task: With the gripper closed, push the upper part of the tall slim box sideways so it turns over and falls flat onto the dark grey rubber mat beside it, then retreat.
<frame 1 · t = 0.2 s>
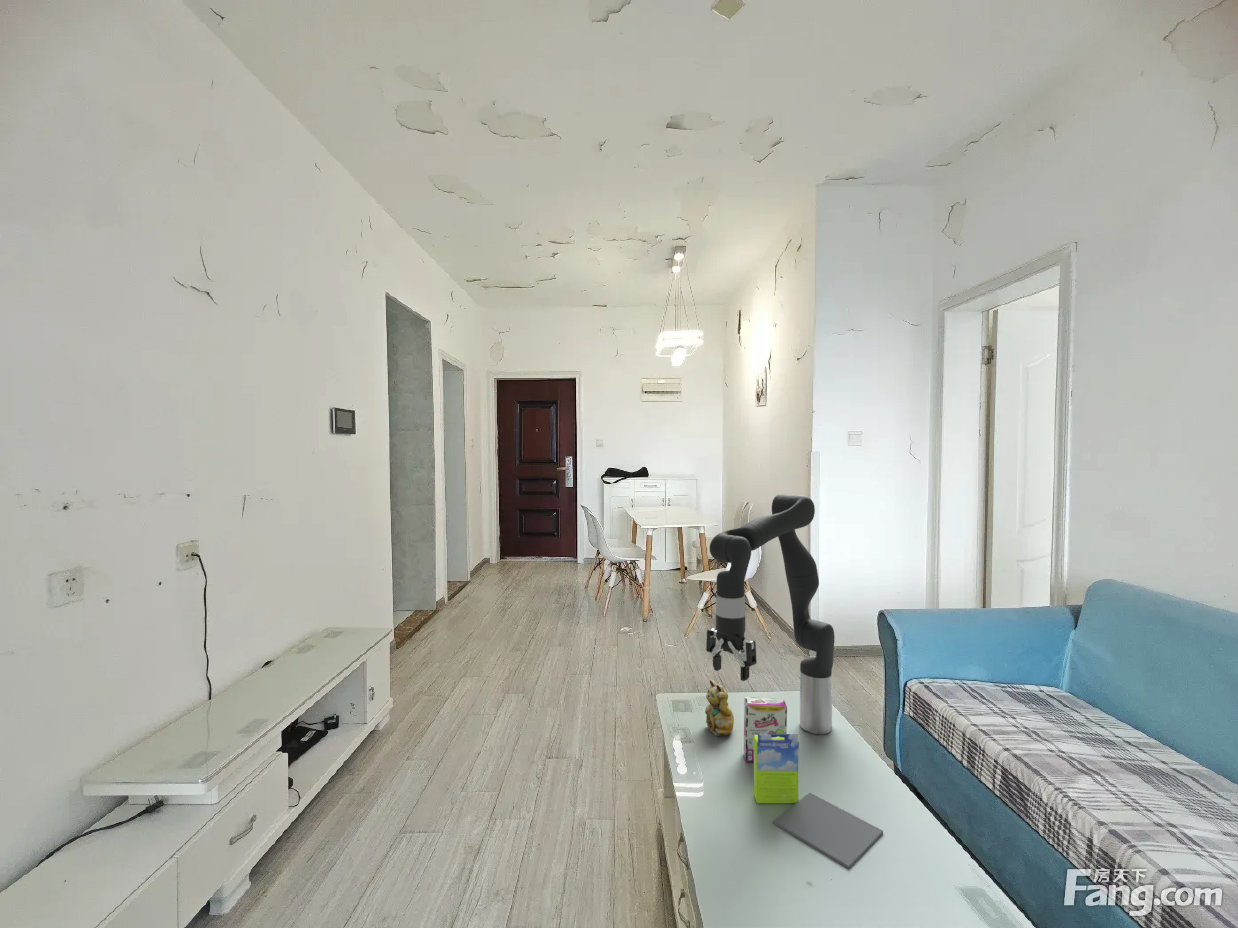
hand: (730, 674, 139), 28 cm above the table, fingers open, 8 cm apart
decorative figurine: (720, 730, 166), on the table
mat: (827, 828, 123), on the table
box: (775, 800, 133), on the table
candy bar box: (764, 759, 151), on the table
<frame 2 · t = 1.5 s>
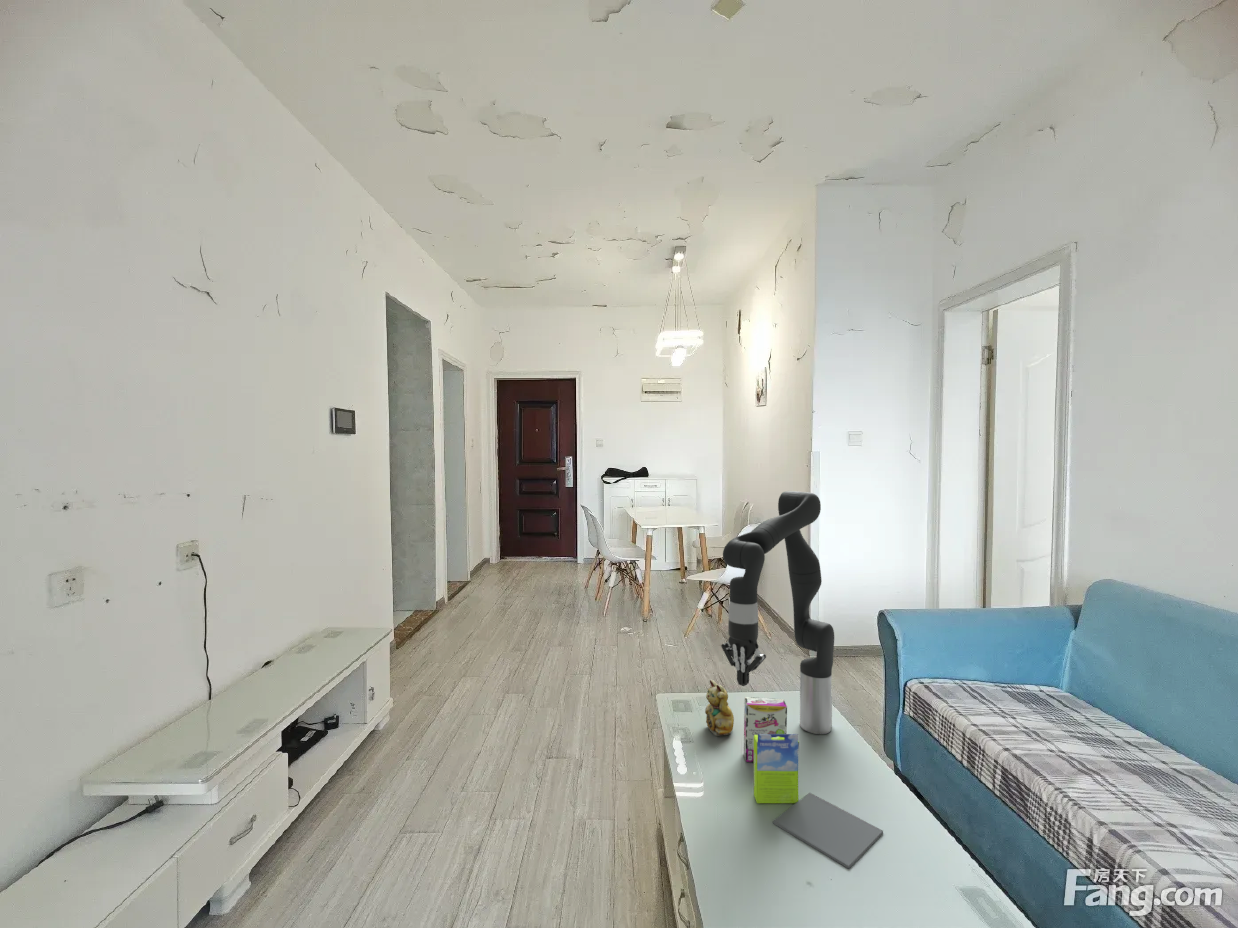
hand: (742, 684, 140), 25 cm above the table, fingers closed
nothing on the table moved.
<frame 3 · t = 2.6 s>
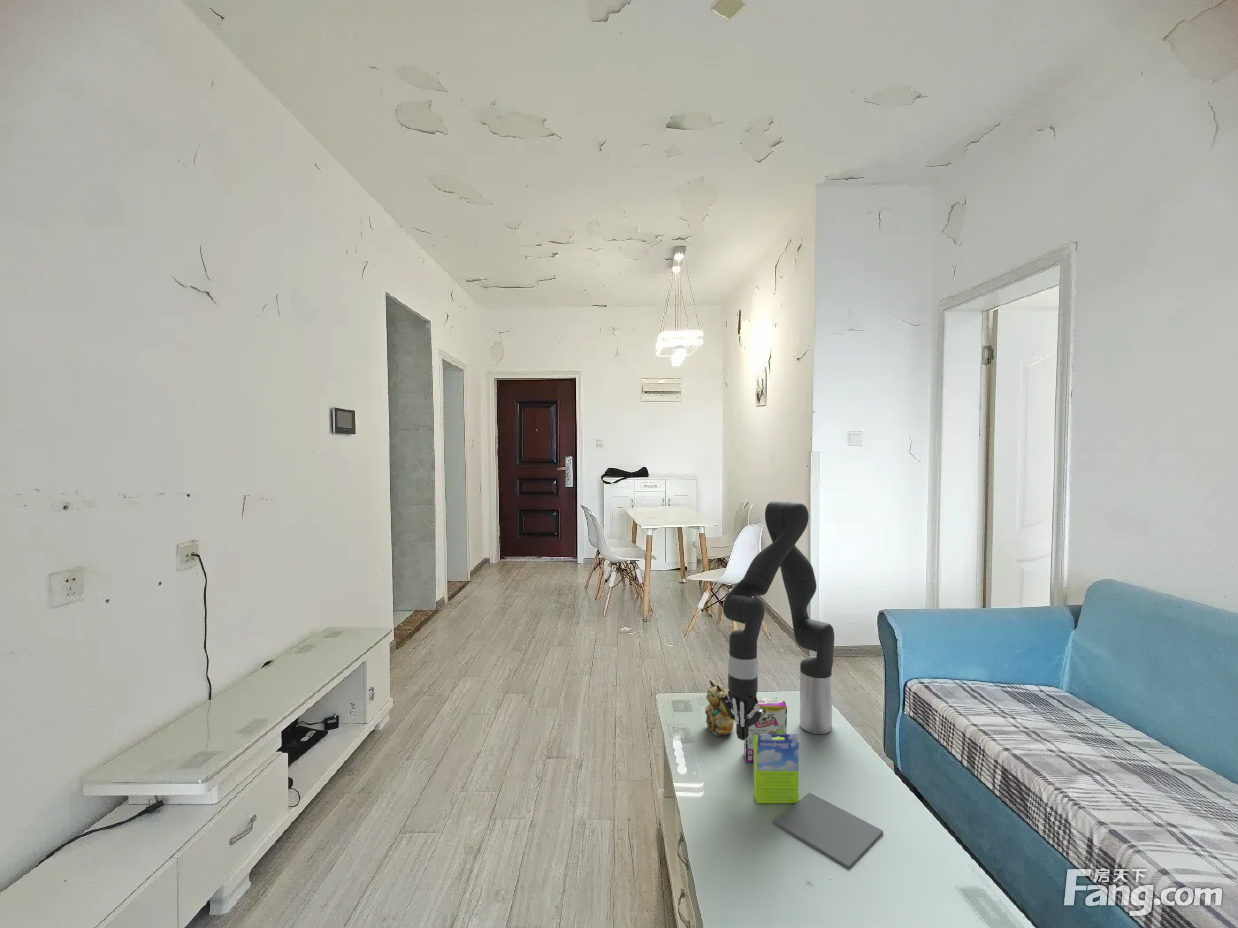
hand: (742, 738, 141), 11 cm above the table, fingers closed
nothing on the table moved.
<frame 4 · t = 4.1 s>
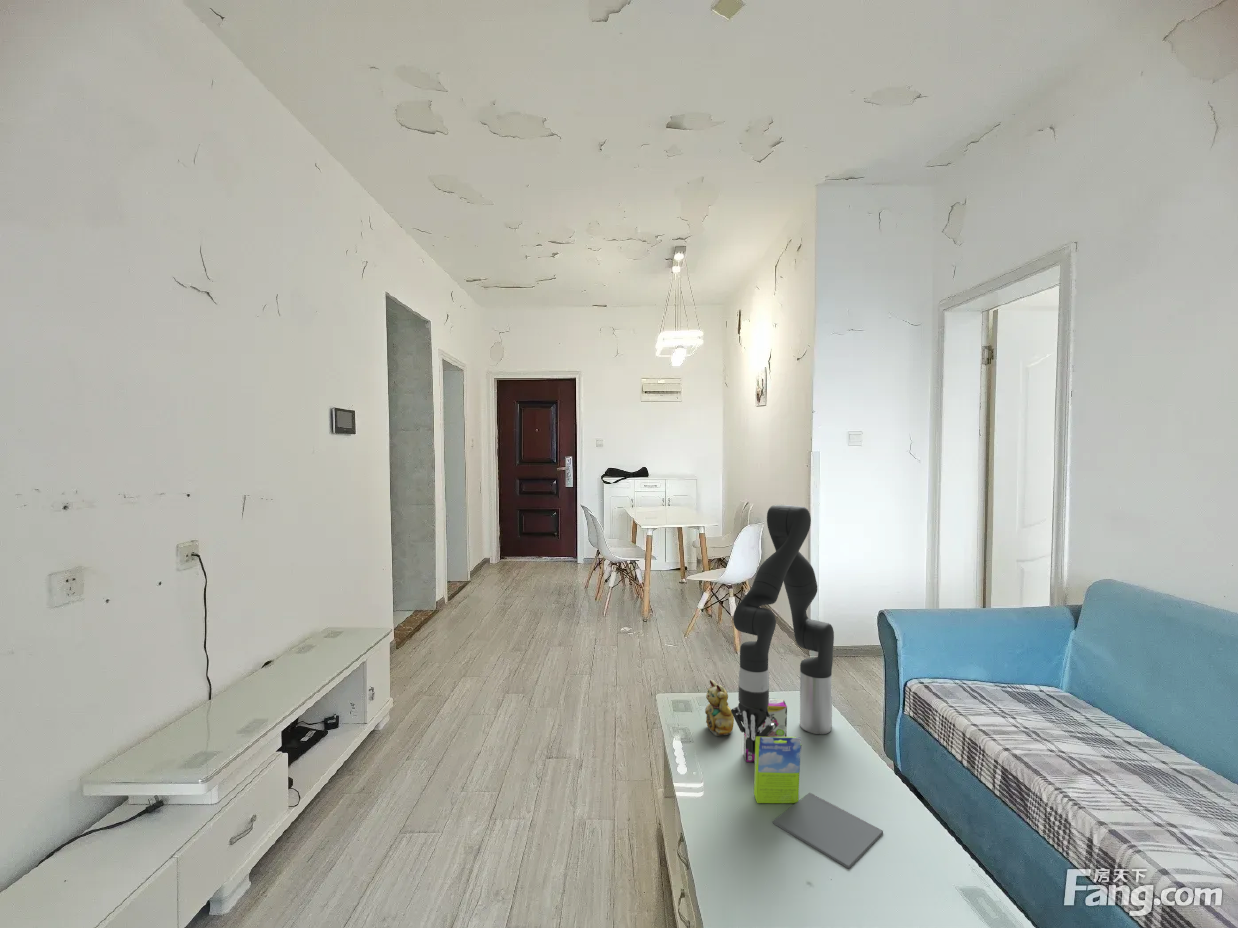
hand: (752, 751, 138), 9 cm above the table, fingers closed
box: (775, 799, 133), on the table, touching hand, mat
everything else where it was.
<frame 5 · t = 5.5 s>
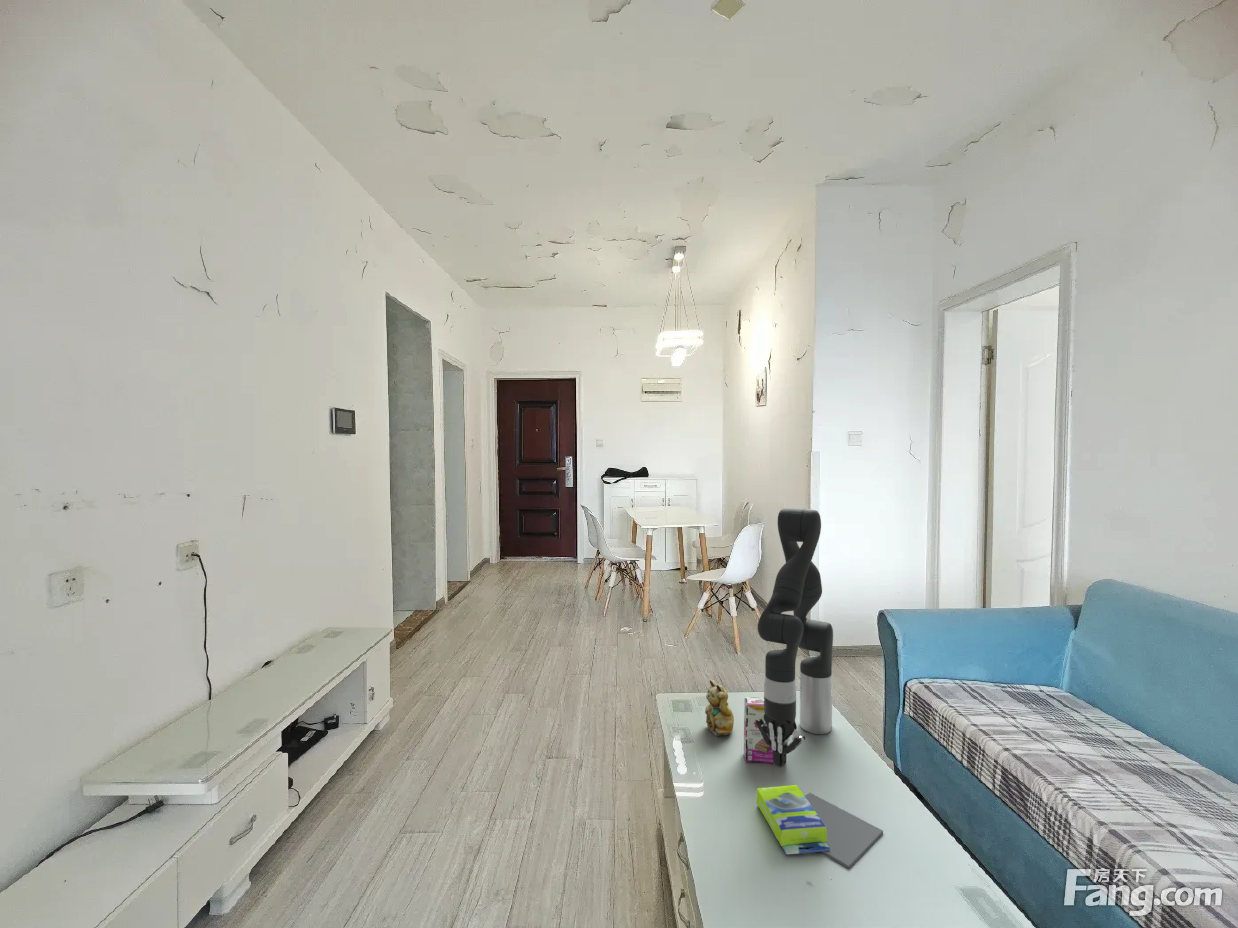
hand: (779, 765, 132), 9 cm above the table, fingers closed
box: (775, 792, 132), point 2 cm above the table, touching mat
everything else where it was.
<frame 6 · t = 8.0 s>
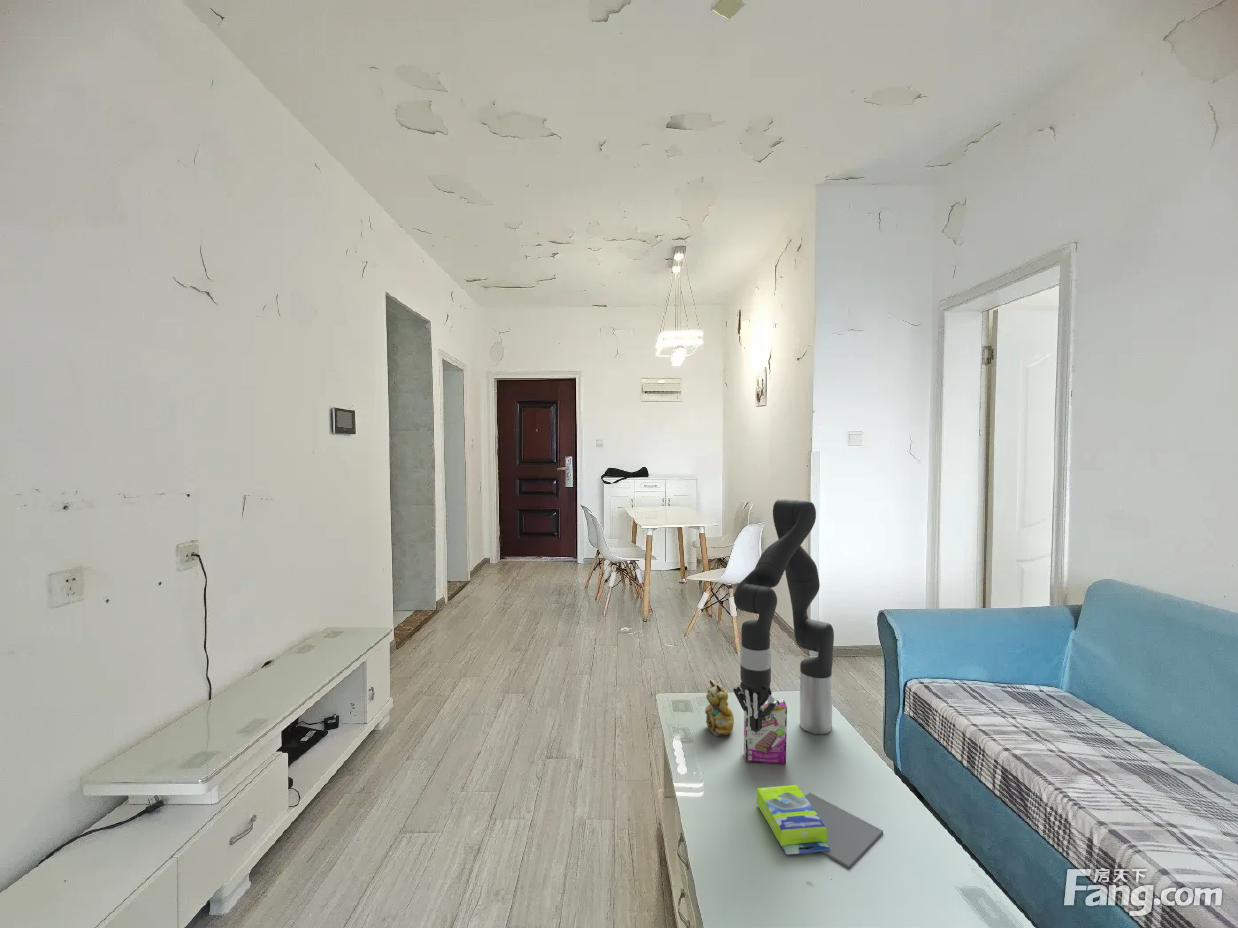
hand: (755, 730, 138), 15 cm above the table, fingers closed
nothing on the table moved.
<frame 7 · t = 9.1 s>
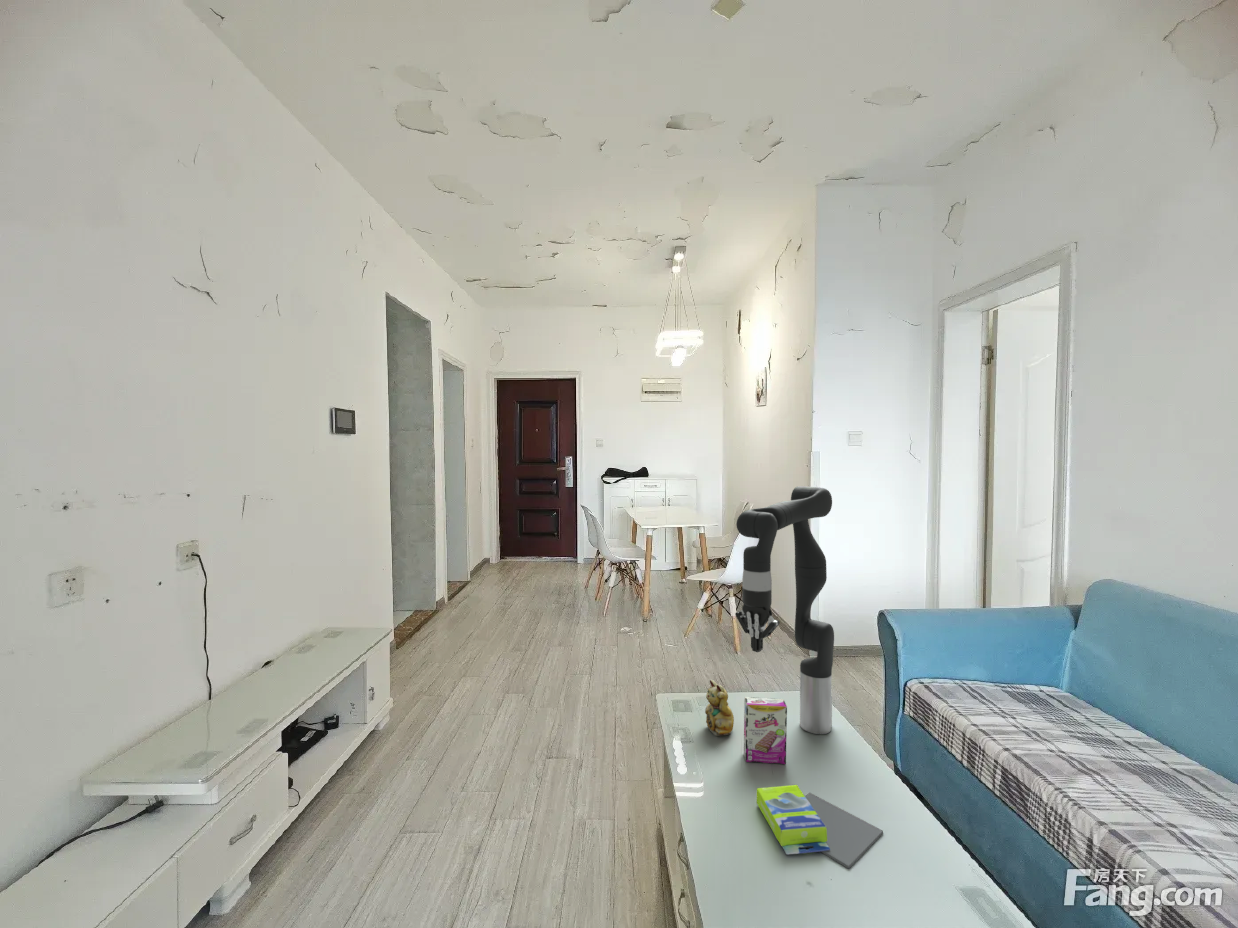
hand: (756, 650, 144), 33 cm above the table, fingers closed
nothing on the table moved.
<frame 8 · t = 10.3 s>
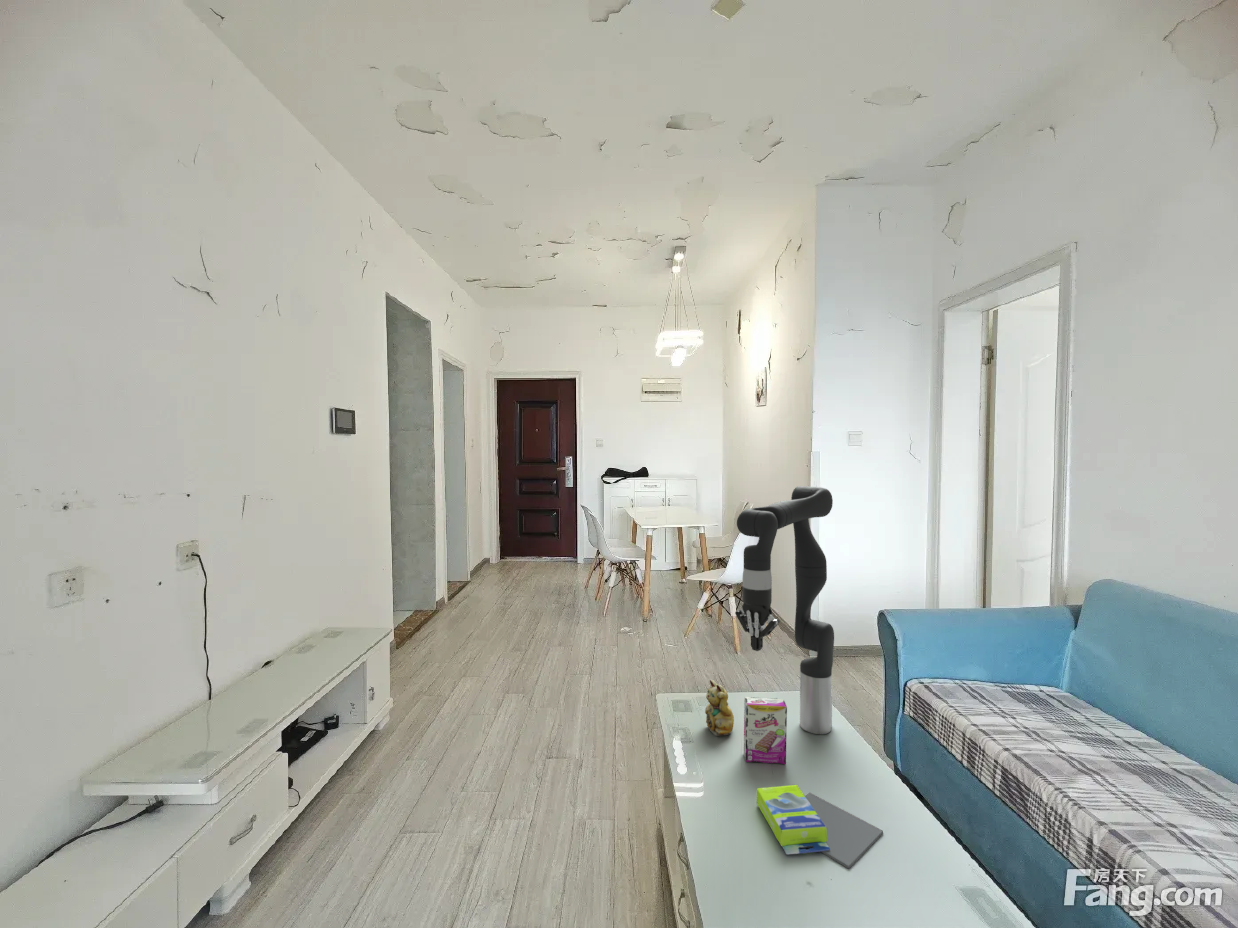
hand: (756, 649, 144), 33 cm above the table, fingers closed
nothing on the table moved.
at the end: box tilted 90°; box inside the target area (11.2 cm from its centre), point 2.4 cm above the table; the gripper is holding nothing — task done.
